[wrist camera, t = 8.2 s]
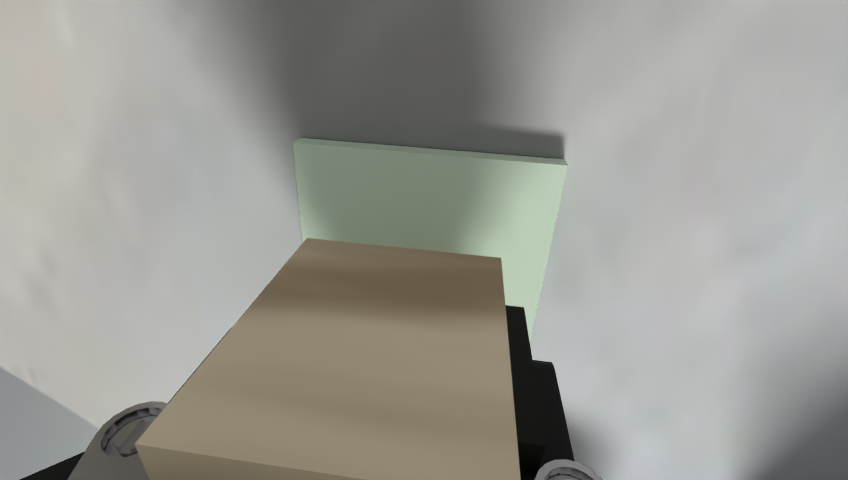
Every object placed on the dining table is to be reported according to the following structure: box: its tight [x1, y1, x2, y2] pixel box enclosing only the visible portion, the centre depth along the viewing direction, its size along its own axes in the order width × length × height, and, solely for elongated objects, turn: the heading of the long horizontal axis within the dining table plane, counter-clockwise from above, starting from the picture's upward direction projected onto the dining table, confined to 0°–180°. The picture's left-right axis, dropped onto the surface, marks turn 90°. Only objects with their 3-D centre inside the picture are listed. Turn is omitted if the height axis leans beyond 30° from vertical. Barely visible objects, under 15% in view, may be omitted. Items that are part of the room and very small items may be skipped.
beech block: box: [135, 238, 521, 480], centre depth 9 cm, size 5×5×6 cm
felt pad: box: [292, 138, 568, 342], centre depth 14 cm, size 8×8×1 cm
